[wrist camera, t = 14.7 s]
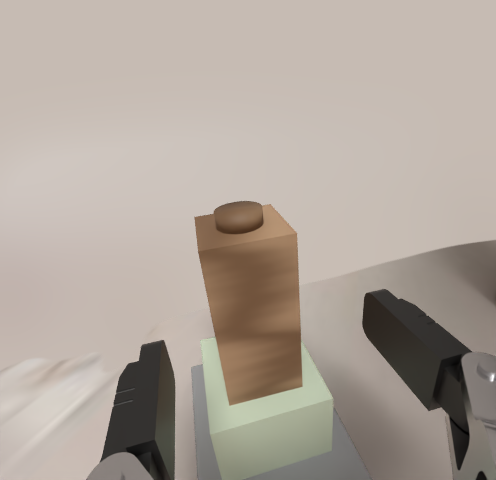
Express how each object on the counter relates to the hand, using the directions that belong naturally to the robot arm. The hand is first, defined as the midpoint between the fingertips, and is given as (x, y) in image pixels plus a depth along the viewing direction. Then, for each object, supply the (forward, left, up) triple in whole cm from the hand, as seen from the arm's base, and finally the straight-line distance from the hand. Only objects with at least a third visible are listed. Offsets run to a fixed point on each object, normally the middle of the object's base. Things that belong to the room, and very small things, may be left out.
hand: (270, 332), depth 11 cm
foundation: (0, -5, -14) cm, 15 cm away
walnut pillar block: (0, -5, -7) cm, 9 cm away
